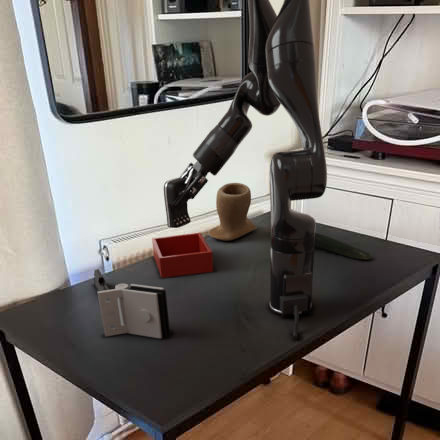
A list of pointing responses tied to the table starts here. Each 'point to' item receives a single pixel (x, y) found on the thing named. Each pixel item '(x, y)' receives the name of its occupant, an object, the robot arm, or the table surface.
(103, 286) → the lighting fixture
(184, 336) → the table surface
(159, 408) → the table surface
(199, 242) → the open red box
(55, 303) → the table surface
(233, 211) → the stone cup
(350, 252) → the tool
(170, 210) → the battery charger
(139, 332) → the hinge
